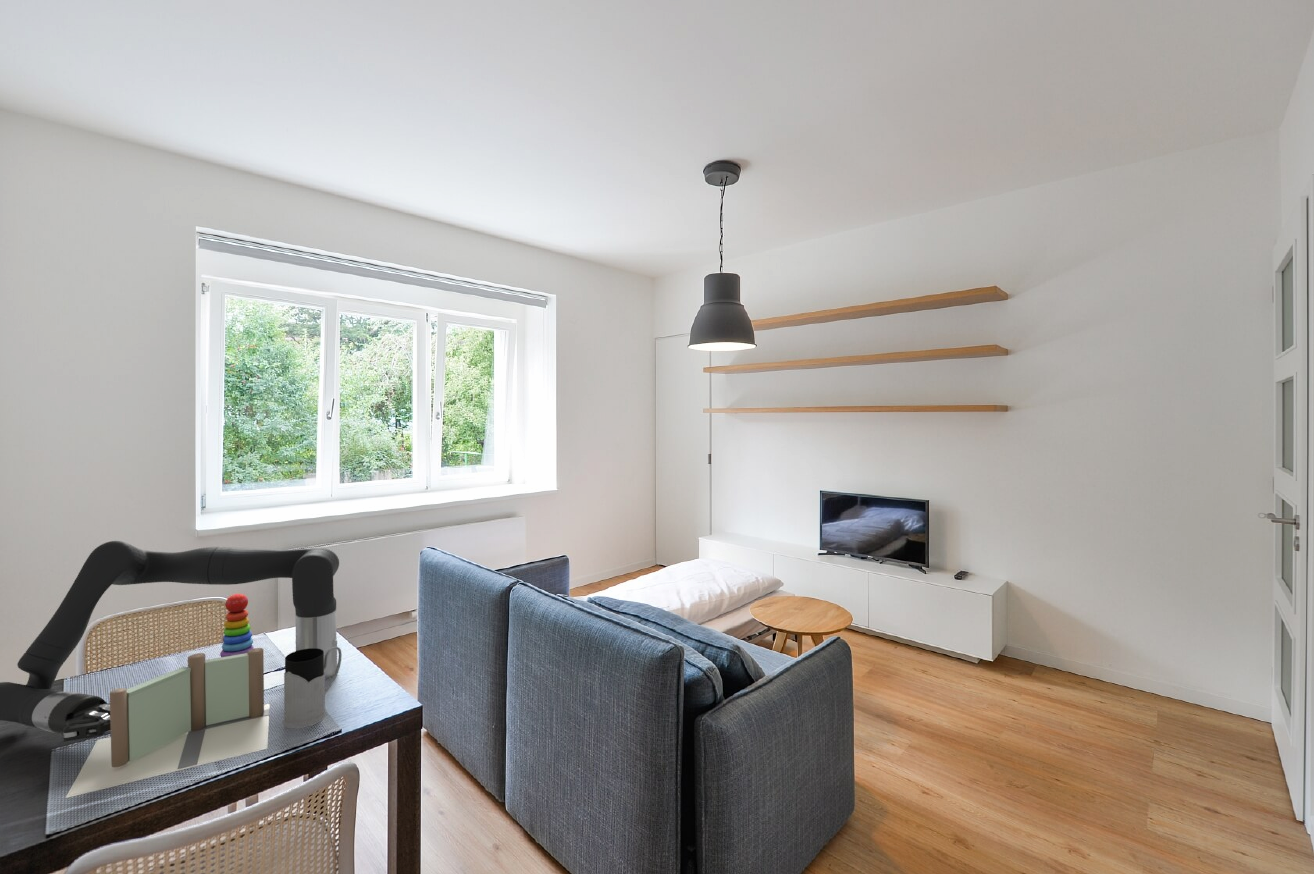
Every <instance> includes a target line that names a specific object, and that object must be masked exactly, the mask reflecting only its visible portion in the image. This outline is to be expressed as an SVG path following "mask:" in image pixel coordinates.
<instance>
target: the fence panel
mask: <svg viewBox="0 0 1314 874" xmlns="http://www.w3.org/2000/svg"><path fill="white" fill-rule="evenodd" d="M190 672H191V668H189V667H188V666H181V667H179V668H177V669H174V670H172V671H169V672H167V673H164V674H162V675H159V676H157V677H154V678H152V679H150V680H146V681H144V682H142V683H140V684H137V685H134V686H131V687H129V688H126V687H121V688H120V687H119V688H117V689H113V690H112V691H110V692H109V703H110V724H111V732H110V737H111V765H112V767H120V766H123V765H125V764H126V763H128V761H129V762H130V761H132V760H134V759H136V758H138V757H140V756H142V755H144V754H146V753H148V752H150V751H152V750H154V749H156V748H158V747H160V746H162V745H164V744H166V743H168V742H170V741H172V740H174V739H176V738H177V737H179V736H181V735H183V734H185V733H187V732H189V731H191V699H190Z"/></svg>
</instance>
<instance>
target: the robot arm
mask: <svg viewBox="0 0 1314 874" xmlns="http://www.w3.org/2000/svg"><path fill="white" fill-rule="evenodd" d="M339 567H340V559H339V557H338V555H337V553H335V552H334V551H333V550H330V549H329V548H324V547H314V548H313V547H310V548H300V549H297V548H296V549H269V548H268V549H267V548H253V547H234V546H232V547H231V546H209V547H201V548H195V549H191V550H185V551H180V552H164V551H152V550H145V549H141V548H138V547H136V546H135V545H132V544H131V543H128V542H125V541H122V540H111V541H107V542H104V543H102V544H100V545H98V546H97V547H96V548H94V549H93V550H92V551H91V552H90V553H89V555H88V556H87V558H86V560H85V561H84V563H83V565H82V567H81V568H80V570H79V572H78V574H77V576H76V578H75V580H74V581H73V583H72V584H71V586H70V588H69V590H68V591H67V593H66V595H65V597H64V598H63V600H62V602H60V605H59V606H58V607H57V609H56V611H55V613H54V614H53V615H52V617H51V619H49V621H48V622H47V624H46V625H45V626H44V627H43V629H42V630H41V632H40V633H39V634H38V635H37V637H36V638H35V639H34V640H33V642H32V643H31V644H30V646H29V647H27V649H26V651H25V652H24V653H23V654H22V656H21V657H20V658H19V660H18V662H17V664H16V665H17V669H19V670H20V671H23V672H24V673H28V674H29V675H28V676H29V677H28V679H27V683H26V684H22V683H17V682H16V683H15V682H10V681H2V682H0V721H1V722H2V721H4V722H10V723H17V724H21V725H24V726H28V727H33V728H37V729H41V730H43V731H45V732H50V733H53V734H60V735H63V742H65V743H66V742H67V743H68V742H71V741H77V740H83V739H84V740H85V739H89V738H97V737H101V736H104V735H105V732H110V733H111V724H110V702H106V700H105V699H103V698H102V697H100V696H98V695H92V694H88V693H87V694H86V693H83V692H82V693H81V692H76V691H75V692H74V691H61V690H55V689H52V688H53V685H54V683H55V681H56V678H57V676H58V673H59V671H60V669H61V667H62V666H63V665H64V663H65V662H66V661H67V660H68V658H69V657H70V655H71V654H72V653H73V651H74V650H75V649H76V647H77V646H78V645H79V643H80V642H81V640H82V638H83V636H84V634H85V632H86V629H88V628H87V627H88V624H89V622H90V619H91V616H92V614H93V613H94V611H95V610H94V609H95V608H96V606H97V605H98V603H99V601H100V599H101V598H102V596H103V595H104V594H105V593H106V591H107V590H108V589H109V588H110V587H111V586H113V585H114V586H127V585H128V586H129V585H139V584H140V585H141V584H152V583H153V584H154V583H177V584H179V583H180V584H190V585H210V586H211V585H213V586H214V585H219V586H222V585H223V586H227V585H229V586H230V585H241V584H242V585H243V584H248V583H254V582H259V581H264V580H265V581H266V580H271V579H280V578H281V579H282V578H283V579H291V585H292V587H291V589H292V604H293V607H294V609H295V651H298V650H302V649H308V648H318V649H322V650H323V651H324V658H325V655H326V653H327V651H328V650H329V649H330V648H332V647H338V639H337V599H336V598H335V595H334V576H335V574H336V573H337V572H338V569H339ZM337 664H338V649H337V648H335V649H333V650H332V651H331V652H330V653H329V655H328V659H327V667H326V669H325V670H324V673H325V681H326V680H328V679H330V678H333V676H334V673H335V671H336V668H337Z"/></svg>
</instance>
